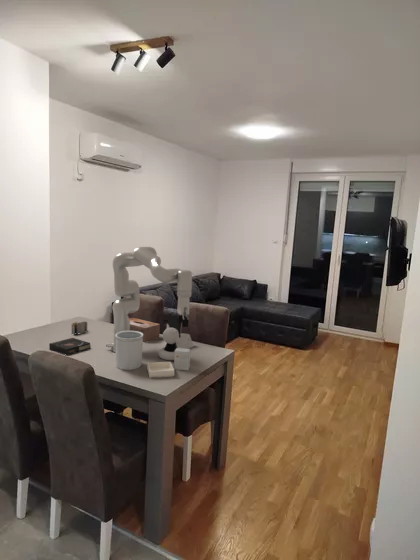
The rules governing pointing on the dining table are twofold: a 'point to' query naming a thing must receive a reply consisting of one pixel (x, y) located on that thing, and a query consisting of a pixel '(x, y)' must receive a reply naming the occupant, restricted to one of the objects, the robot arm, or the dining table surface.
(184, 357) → the small box
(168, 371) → the tray
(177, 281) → the robot arm
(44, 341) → the dining table surface
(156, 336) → the tissue box cover
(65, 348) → the flat black printed box
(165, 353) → the decorative figurine
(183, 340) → the white and black block
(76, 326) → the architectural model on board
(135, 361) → the utensil holder
